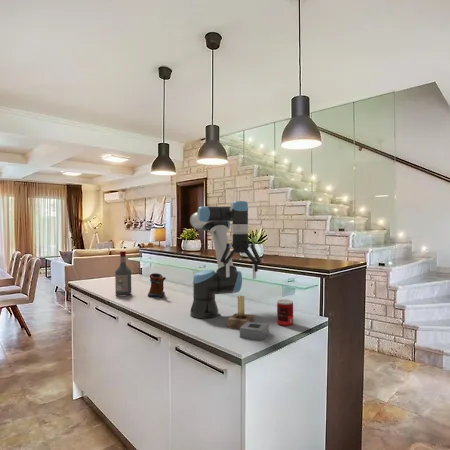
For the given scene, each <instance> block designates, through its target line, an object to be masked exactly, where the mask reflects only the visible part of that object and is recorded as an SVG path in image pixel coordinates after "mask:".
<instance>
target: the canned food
mask: <svg viewBox="0 0 450 450" xmlns="http://www.w3.org/2000/svg"><path fill="white" fill-rule="evenodd" d="M276 311H277V312H276V319H277V320H276V321H277V322H276V323H277V325H278V326H280V327H291V326H293V325H294V301H293V300H290V299H278V300H277V301H276Z"/></svg>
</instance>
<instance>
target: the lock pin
mask: <svg viewBox="0 0 450 450" xmlns="http://www.w3.org/2000/svg"><path fill="white" fill-rule="evenodd" d="M245 310H246V309H245V296H244V295H237V314H238V319H245V312H246V311H245Z"/></svg>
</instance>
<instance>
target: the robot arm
mask: <svg viewBox="0 0 450 450" xmlns="http://www.w3.org/2000/svg"><path fill="white" fill-rule="evenodd" d="M189 223H190V226H191V227H192V228H193V229H195V230H198V231H202V232H203V231H209V234H210V236H212V239H213V244H214V251H215V257H216V262H217V269H216V271H215V270H214V269H209V270H208V269H206V270H201V271H198V272H194V274H193V276H192V277H193V279H192V285H193V290H192V291H193V293H192V296H193V301H192V305H191V307H190V316H191V317H192V318H196V319H211V318H215V317H217V316H219V308H218V304H217V302H216V295H223V294H224V295H225V294H236V293H239V292H240V291H241V289H242V284H243V274H242V272H241V271H239V270H237V269H238V268H237V266H235V265H234V263H233V257H234V256H235V254H240V253H241V254H245V255H246V256H247V257H248V258H249V260H250V261H251V263H252V279H253V280H255V279H257V272H258V271H259V264H262V262H263V261H262V259H261V257H260V255H259V253H258V251H257V249H256V244H255V243H249V204H248V202H247V201H245V200H236V201H235V200H234V201H232V203H231V206H228V205H227V206H209V205H208V206H205V205H204V206H199V207H198V209H197V211H196V212H193V214H191V215H190V217H189ZM231 223H232V224H231ZM231 225H232V233H233V234H232V243H230V242H229V239H228V232H229V230H230V227H231ZM231 248H232V251H231ZM249 249H250V250H251V252H252V253H251V252H250V250H249Z"/></svg>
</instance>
